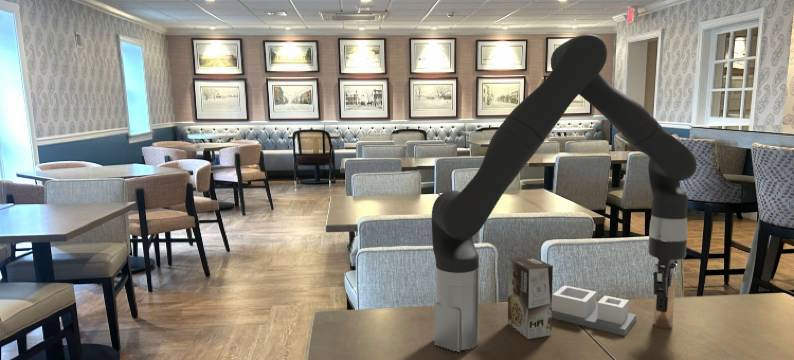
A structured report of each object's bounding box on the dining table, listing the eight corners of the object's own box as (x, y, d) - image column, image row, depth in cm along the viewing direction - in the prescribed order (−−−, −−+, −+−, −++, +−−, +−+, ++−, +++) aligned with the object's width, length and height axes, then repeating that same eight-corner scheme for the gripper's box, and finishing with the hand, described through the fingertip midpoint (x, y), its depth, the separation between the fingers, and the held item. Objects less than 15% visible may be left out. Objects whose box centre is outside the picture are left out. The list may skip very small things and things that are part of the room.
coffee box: (552, 335, 113) (554, 266, 110) (527, 340, 111) (528, 269, 109) (530, 319, 121) (531, 254, 119) (506, 323, 119) (507, 257, 117)
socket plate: (624, 336, 112) (625, 312, 111) (550, 317, 122) (550, 295, 121) (636, 320, 119) (637, 298, 119) (565, 304, 130) (565, 284, 129)
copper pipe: (670, 330, 114) (673, 279, 112) (651, 325, 116) (654, 276, 115) (674, 324, 117) (677, 274, 115) (655, 320, 120) (657, 271, 118)
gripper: (656, 227, 122) (652, 295, 124) (642, 240, 111) (638, 314, 113) (692, 231, 117) (687, 302, 119) (680, 245, 106) (676, 322, 108)
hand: (663, 307), depth 116 cm, fingers closed on copper pipe, 4 cm apart
